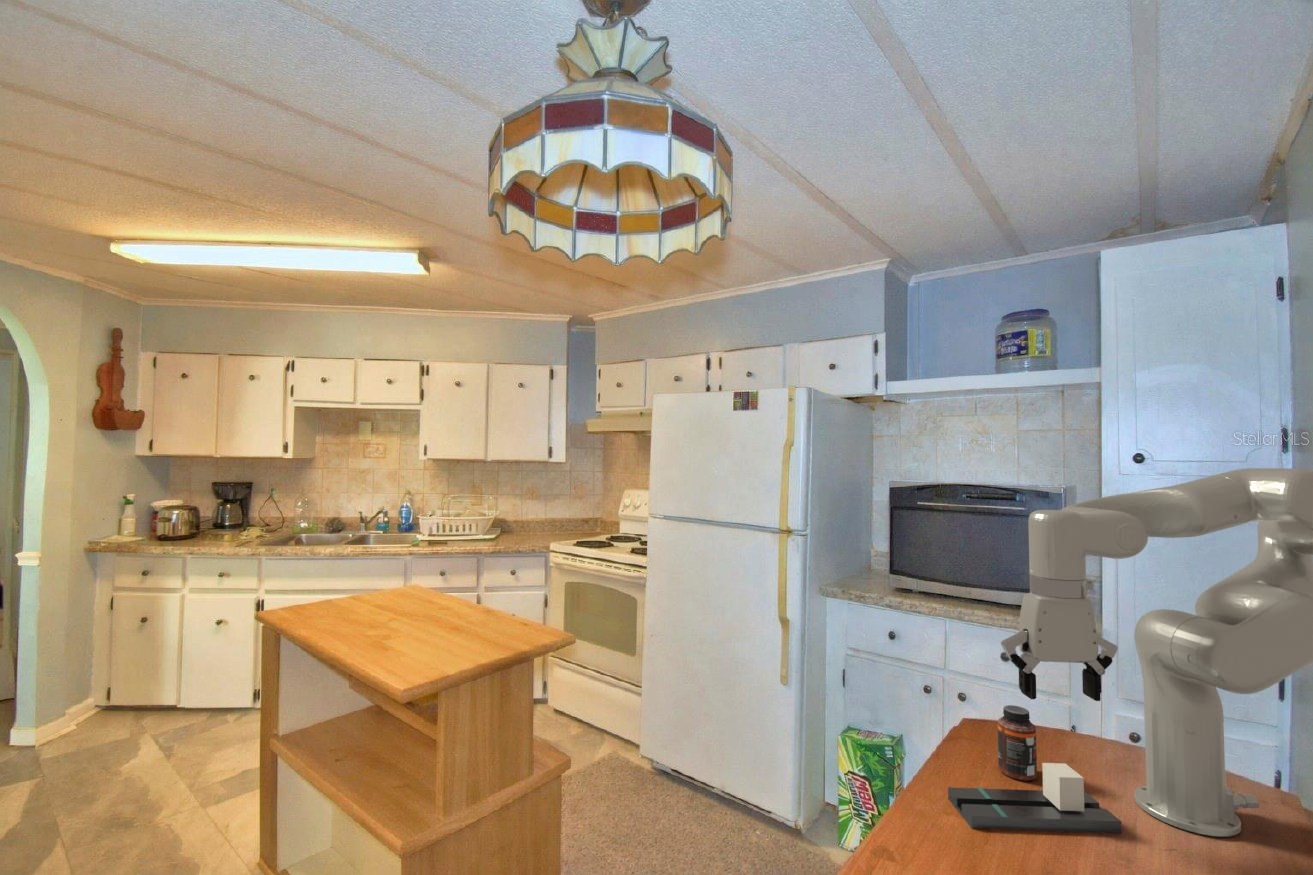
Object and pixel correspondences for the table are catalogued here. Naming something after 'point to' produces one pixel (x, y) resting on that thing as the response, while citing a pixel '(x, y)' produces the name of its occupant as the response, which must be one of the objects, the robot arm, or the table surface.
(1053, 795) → the fader tab
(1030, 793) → the fader housing
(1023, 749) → the supplement bottle
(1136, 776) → the table surface
